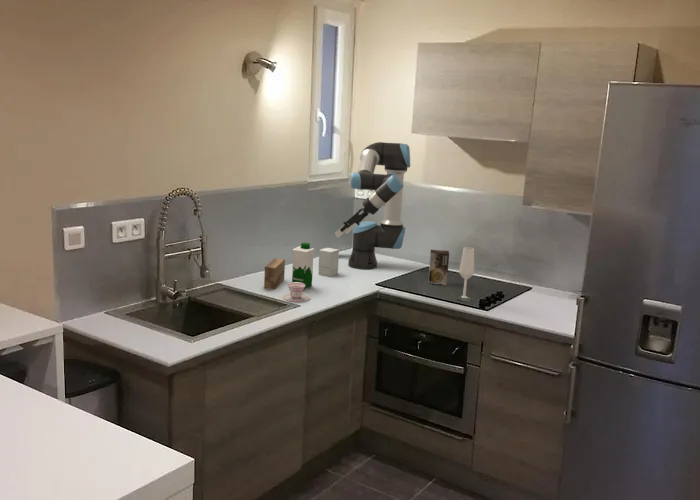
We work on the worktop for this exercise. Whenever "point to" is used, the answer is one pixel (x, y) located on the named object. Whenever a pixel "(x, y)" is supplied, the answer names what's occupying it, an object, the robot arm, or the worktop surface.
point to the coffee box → (438, 267)
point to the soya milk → (303, 264)
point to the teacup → (296, 292)
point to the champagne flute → (467, 266)
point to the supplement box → (328, 262)
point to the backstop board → (274, 273)
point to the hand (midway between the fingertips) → (340, 233)
